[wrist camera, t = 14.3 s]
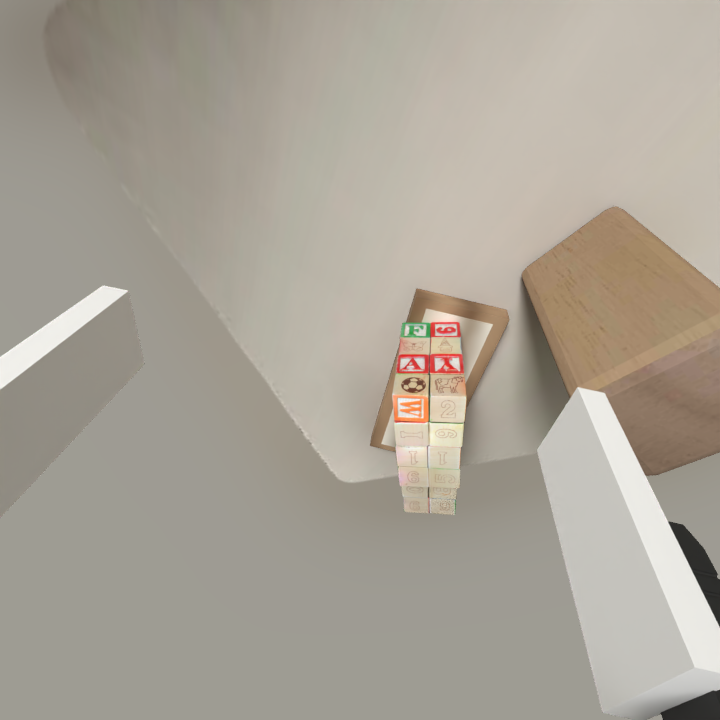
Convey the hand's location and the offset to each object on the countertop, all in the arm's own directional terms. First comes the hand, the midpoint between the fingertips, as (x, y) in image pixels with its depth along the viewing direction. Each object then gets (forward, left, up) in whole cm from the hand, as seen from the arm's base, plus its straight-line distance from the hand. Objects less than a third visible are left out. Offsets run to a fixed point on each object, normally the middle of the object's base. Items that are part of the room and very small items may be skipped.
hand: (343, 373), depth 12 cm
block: (-20, +6, -31) cm, 38 cm away
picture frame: (-9, +24, -31) cm, 40 cm away
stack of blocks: (-10, +25, -29) cm, 39 cm away
